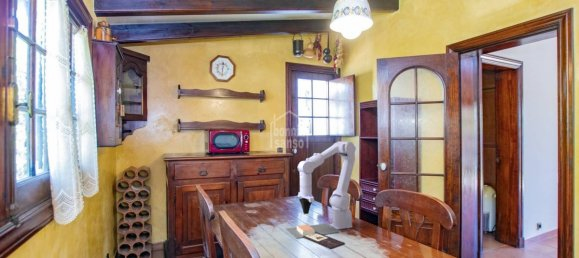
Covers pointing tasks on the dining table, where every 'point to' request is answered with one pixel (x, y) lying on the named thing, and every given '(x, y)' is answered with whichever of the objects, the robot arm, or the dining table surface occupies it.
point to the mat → (318, 228)
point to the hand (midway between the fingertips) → (306, 213)
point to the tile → (305, 229)
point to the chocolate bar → (323, 240)
